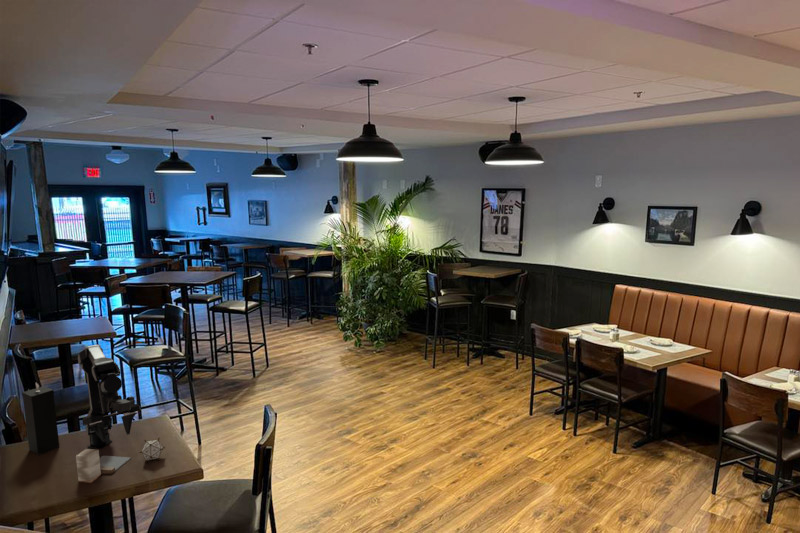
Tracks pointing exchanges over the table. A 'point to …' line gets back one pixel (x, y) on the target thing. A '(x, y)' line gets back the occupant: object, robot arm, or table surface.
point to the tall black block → (41, 419)
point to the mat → (113, 461)
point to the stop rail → (107, 470)
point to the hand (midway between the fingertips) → (116, 437)
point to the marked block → (88, 465)
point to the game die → (152, 450)
